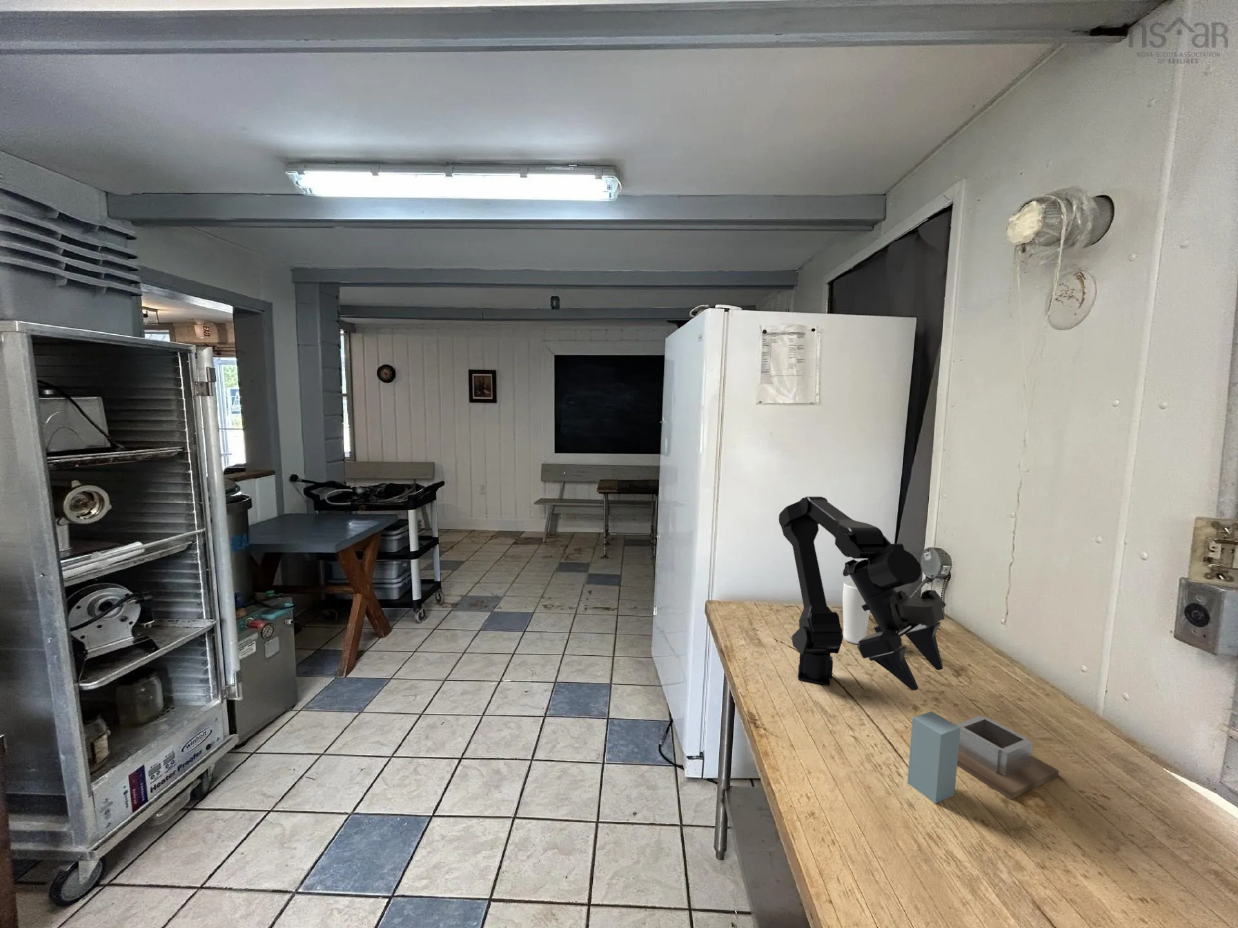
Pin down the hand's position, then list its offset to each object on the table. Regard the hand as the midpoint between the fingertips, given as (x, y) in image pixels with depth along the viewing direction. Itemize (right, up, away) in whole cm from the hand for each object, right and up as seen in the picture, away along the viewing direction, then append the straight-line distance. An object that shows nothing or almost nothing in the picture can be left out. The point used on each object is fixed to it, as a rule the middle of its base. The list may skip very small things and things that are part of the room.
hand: (928, 679), depth 84 cm
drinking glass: (+9, -10, +45) cm, 47 cm away
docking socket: (+10, -14, -1) cm, 17 cm away
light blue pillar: (-4, -14, -7) cm, 16 cm away
